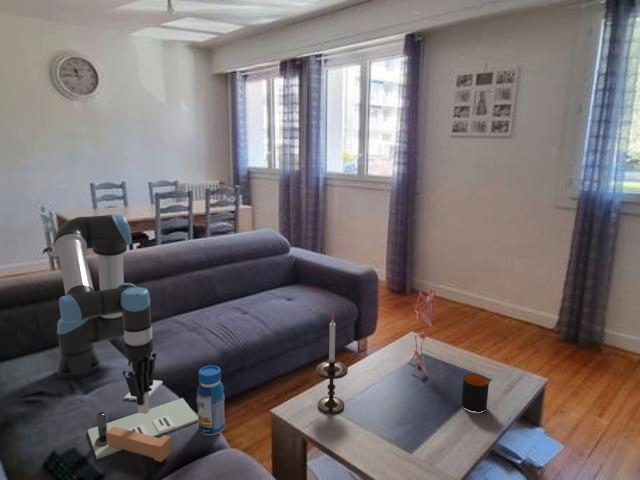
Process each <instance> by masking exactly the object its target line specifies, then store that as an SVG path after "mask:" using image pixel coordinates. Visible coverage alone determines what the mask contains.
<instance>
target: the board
mask: <svg viewBox="0 0 640 480" xmlns="http://www.w3.org/2000/svg"><path fill="white" fill-rule="evenodd" d="M167 415H168V416H169V417H170V419H171V420H172V422H173V423H174V425H175V427H173V428H170V429H167V430H165V431H162V432H158V430H157V428H156V426H155V425H154V423H153V421H152V420H155V419H158V418H161V417H164V416H167ZM197 422H198V423H199V418H198V415H196V413H195V412H194V410H193V409H192V408H191V406H189V404H188V403H187V402H186V400H185V399H184V398H183V397H180V398H179V399H176V400H175V399H174V400H172V401H170V402H167V403H163V404H161V405H157V406H154V407H152V408H149V412H148V413H147V414H143V413H138V412H136V413H134V414H131V415H127V416H125V417H121V418H119V419H116V420H113V421H110V422H107V431H109V430H110V429H111V428H112V427H118V428H122V429H126V430H127V429H130V428H132V427H135V426H138V425H141V424H143V425H144V427H145V429H146V431H147V433H148V435H149V436H153V437H154V436H157V435H159V434H162V433H164V432H168V431H171V430H174V429H176V430H179V429H182V428H184V427H186V426H187V427H188V426H190V425H192V424H194V423H197ZM178 428H179V429H178ZM174 431H175V430H174ZM171 432H172V431H171ZM87 433H88V437H89V440H90V442H91V445H92V449H93V452H94V455H95V458H96V460H99V459H101V458H104V457H107V456H109V455H112V454H114V453H117V451H118V452H120V451H123V450H122V449H121V448H118V447H114V446H110V445H105V446H97V445H96V439H97V438H99V434H98V425H97V426H95V427H91V428H89V429H87ZM168 433H169V432H168Z"/></svg>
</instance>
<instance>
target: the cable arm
mask: <svg viewBox="0 0 640 480" xmlns="http://www.w3.org/2000/svg"><path fill="white" fill-rule="evenodd" d="M106 437H107V445H110V446H114V447H118V448H121V449H123V450H125V451H129V452H132V453H135V454H140V455H143V456H148V457H149V458H153V459H154V461H157V462H160V463H162V462H163V461H164V460H165V459H166V458H167V457H168V456H170V454H171V453H172V451H173V450H172V437H171V436H170V435H169V436H168V435H166V434H163V435H161V436H160V437H153V436H149V435H145V434H141V433H137V432H134V431H130V430H126V429H122V428H118V427H112V428H111V429H110V430H109V431H107V432H106Z"/></svg>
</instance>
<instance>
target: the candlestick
mask: <svg viewBox="0 0 640 480" xmlns="http://www.w3.org/2000/svg"><path fill="white" fill-rule="evenodd" d="M331 314H332V315H331V322H330V323H329V337H328V338H329V344H328V345H329V347H328V348H329V349H328V350H329V351H328V353H329V354H328V358H327V359H326V360H325V361H321V362H318V364H317V365H316V366H315V373H316V375H318V376H319V377H321V378H322V379H327V380H329V384H327V389H328V391H327V395H328V396H325V397H322V398H321V399H320V400H318V403H317V408H318V410H319V409H320V410H321V411H320V410H319V411H320V412H322V413H323V412H324V414H326V413H329V414H328V415H336V413H337V414H340V413H341V412H343V411H344V409H345V402H344V401H343V400H342V399H341V398H338V397H335V394H336V392H335V389H336V385H335V384H334V380H338V379H342V378H344V377H345V376H347V374H348V370H349V369H348V366H347V365H346V364H345V363H343V362H341V361H338V359H336V358H335V357H336V356H335V355H336V351H335V350H336V347H335V346H336V322H335V321H334V319H335V310H333V311H332V312H331ZM334 413H335V414H334Z"/></svg>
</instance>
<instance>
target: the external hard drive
mask: <svg viewBox="0 0 640 480" xmlns="http://www.w3.org/2000/svg"><path fill="white" fill-rule="evenodd" d="M161 385H163V381H162V380H156V379H153V385H152V386H150V388H152V390H151V391H148V392H149V398H151V396H152V395H153V394H154V393H155V392H156V391H157V390H158V389H159V387H160V386H161ZM124 399H129V400H128V401H132V400H133V401H136V400H137V397H134V396H131V394H130V391H129V392H128V393H127V394H126V395H125V396H124V397H123V400H124Z"/></svg>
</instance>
